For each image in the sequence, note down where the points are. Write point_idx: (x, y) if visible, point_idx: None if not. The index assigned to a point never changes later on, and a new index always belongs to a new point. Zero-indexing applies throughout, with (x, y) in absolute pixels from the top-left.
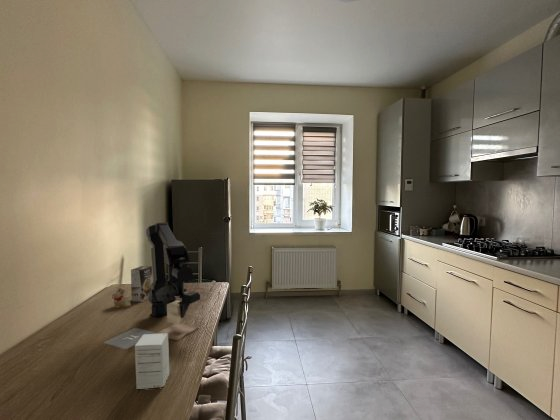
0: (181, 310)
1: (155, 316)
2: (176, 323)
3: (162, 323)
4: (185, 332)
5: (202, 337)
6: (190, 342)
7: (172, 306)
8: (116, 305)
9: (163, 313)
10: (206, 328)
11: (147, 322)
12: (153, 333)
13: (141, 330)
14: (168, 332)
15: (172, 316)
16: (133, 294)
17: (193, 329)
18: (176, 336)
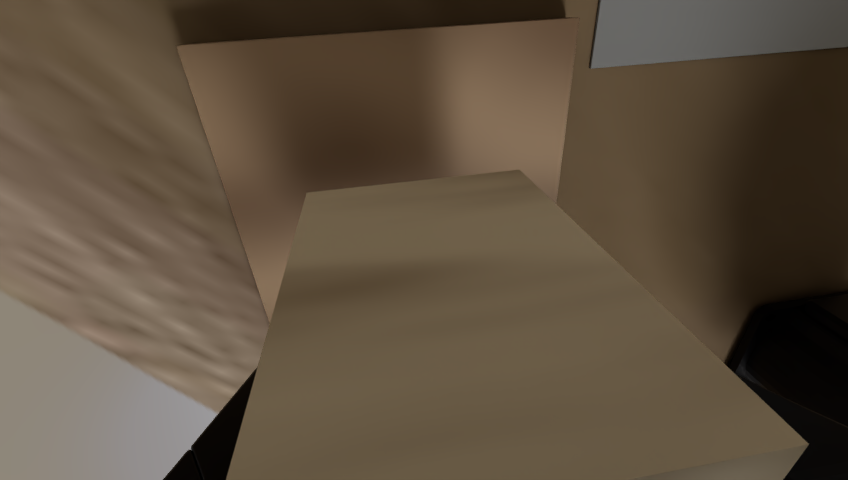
0: (217, 450)
1: (808, 298)
2: (326, 197)
3: (678, 251)
4: (276, 218)
5: (59, 254)
6: (15, 95)
7: (481, 460)
8: None
9: (765, 352)
10: (236, 378)
11: (828, 196)
12: (629, 38)
13: (810, 24)
14: (452, 118)
15: (428, 239)
16: None
17: (271, 303)
18: (266, 87)
